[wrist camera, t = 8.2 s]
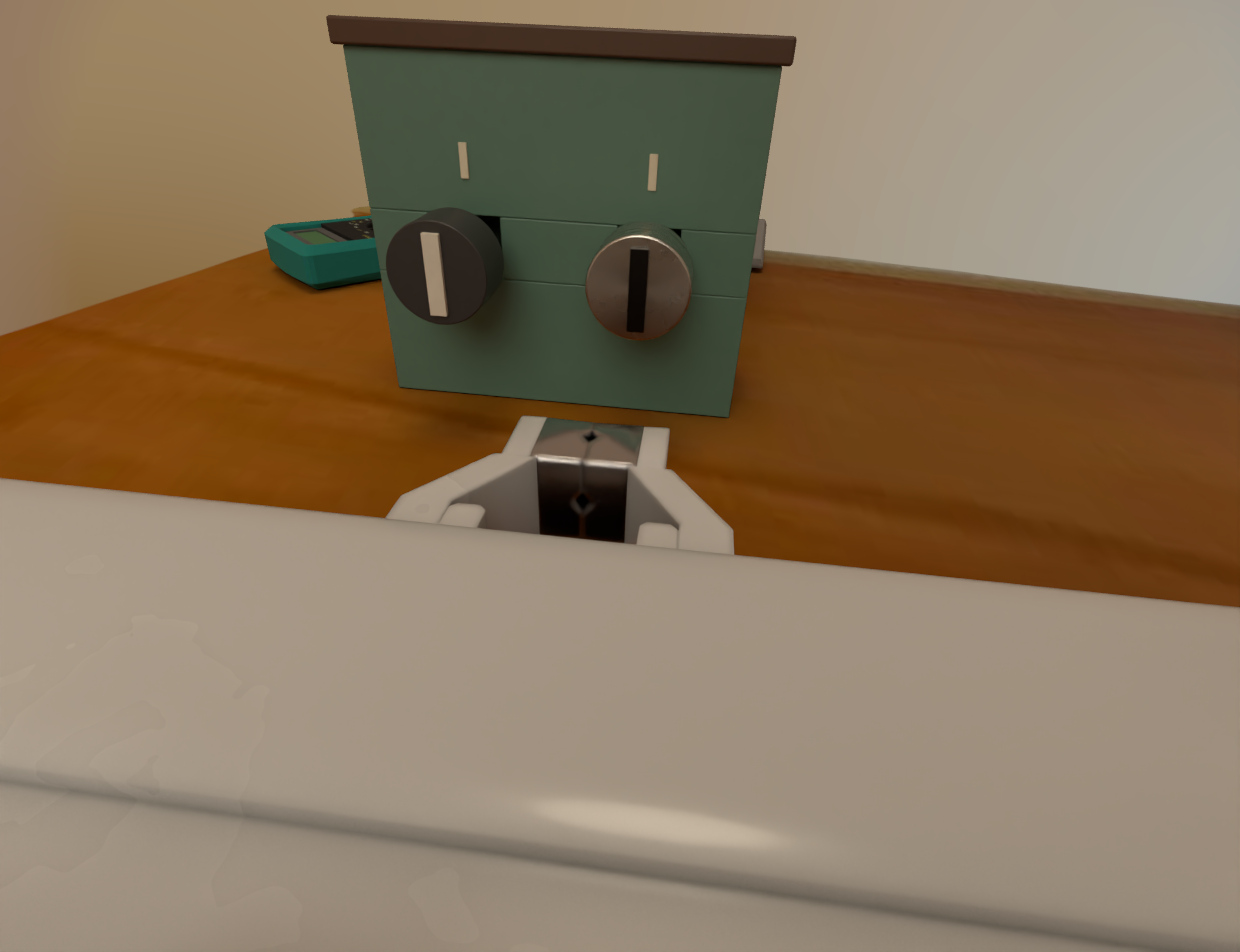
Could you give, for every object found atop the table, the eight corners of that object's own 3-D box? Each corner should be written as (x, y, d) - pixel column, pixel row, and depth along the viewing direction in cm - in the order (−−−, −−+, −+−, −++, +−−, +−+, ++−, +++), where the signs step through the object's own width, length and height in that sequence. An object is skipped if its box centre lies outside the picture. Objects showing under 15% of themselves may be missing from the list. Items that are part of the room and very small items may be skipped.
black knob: (488, 331, 23) (480, 225, 21) (391, 322, 23) (374, 217, 21) (526, 285, 27) (522, 195, 25) (444, 279, 28) (434, 189, 26)
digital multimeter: (511, 259, 48) (509, 217, 46) (309, 294, 39) (297, 245, 38) (459, 239, 52) (456, 200, 51) (267, 267, 44) (256, 222, 42)
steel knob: (686, 347, 22) (696, 240, 20) (583, 339, 22) (584, 232, 20) (690, 298, 27) (699, 206, 25) (605, 291, 27) (608, 200, 25)
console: (735, 421, 28) (797, 36, 20) (389, 389, 29) (324, 14, 21) (732, 369, 32) (781, 40, 25) (434, 343, 34) (393, 22, 26)
